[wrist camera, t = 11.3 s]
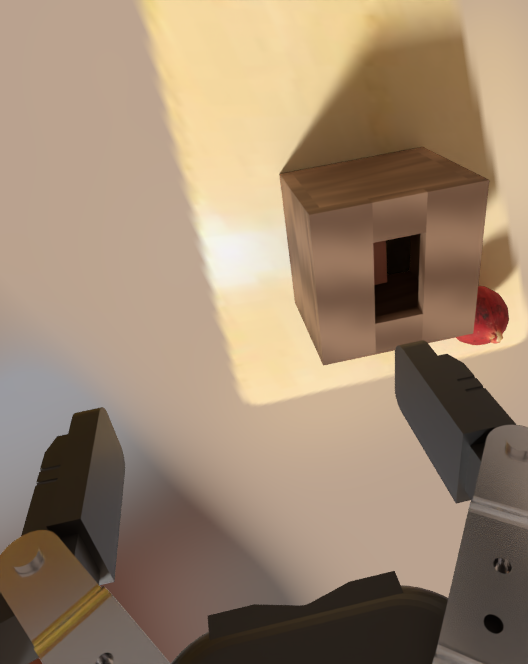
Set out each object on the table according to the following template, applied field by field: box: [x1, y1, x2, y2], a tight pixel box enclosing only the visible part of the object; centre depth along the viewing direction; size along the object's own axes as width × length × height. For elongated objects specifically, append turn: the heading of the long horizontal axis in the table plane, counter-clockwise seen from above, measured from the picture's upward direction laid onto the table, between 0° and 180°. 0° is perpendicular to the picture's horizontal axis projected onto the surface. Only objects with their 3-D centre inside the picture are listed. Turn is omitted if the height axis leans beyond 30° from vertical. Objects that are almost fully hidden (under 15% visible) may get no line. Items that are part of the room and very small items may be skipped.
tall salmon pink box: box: [373, 240, 387, 285], centre depth 46 cm, size 5×2×6 cm
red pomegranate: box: [456, 286, 509, 345], centre depth 51 cm, size 6×6×8 cm
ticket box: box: [280, 147, 489, 365], centre depth 43 cm, size 13×13×11 cm
